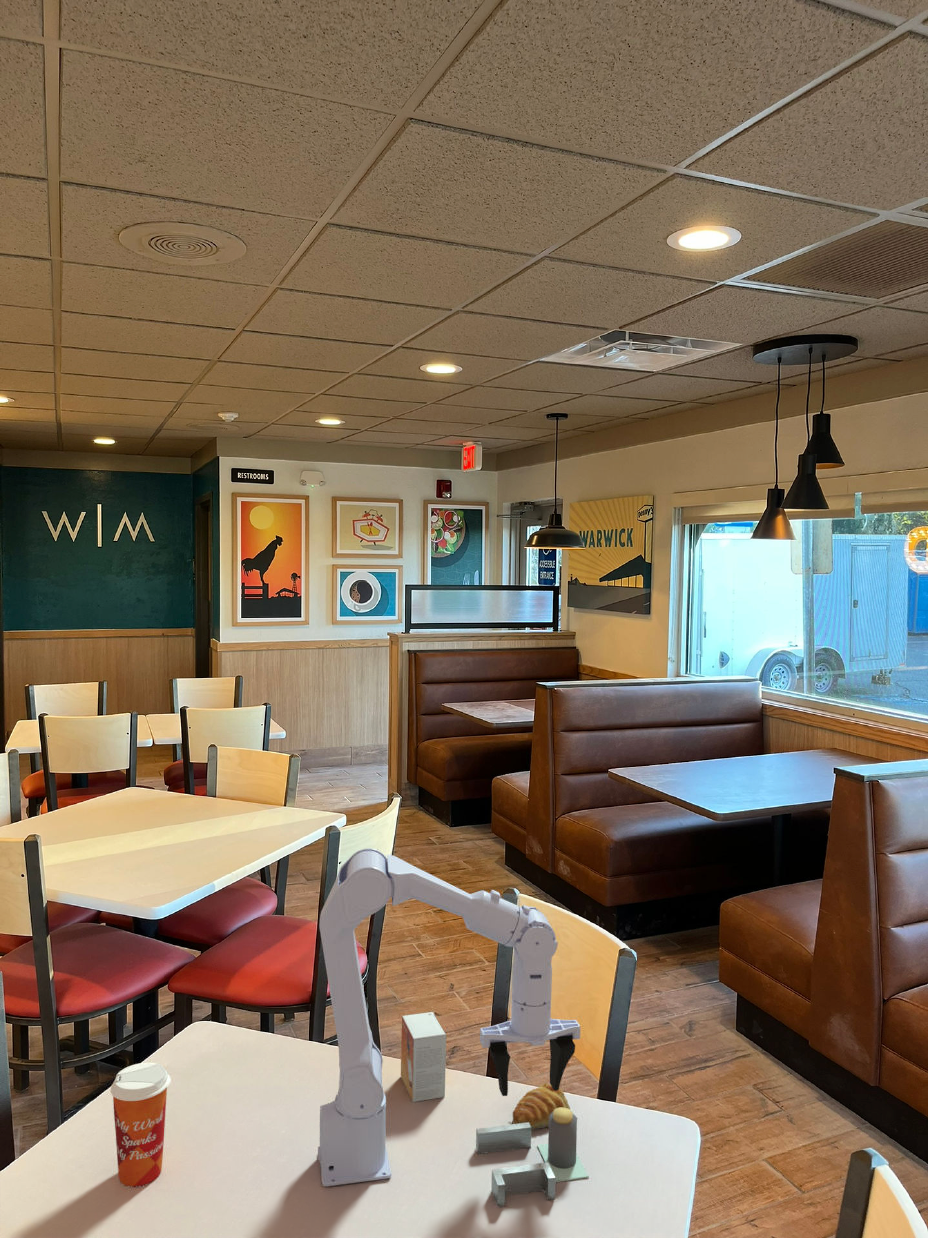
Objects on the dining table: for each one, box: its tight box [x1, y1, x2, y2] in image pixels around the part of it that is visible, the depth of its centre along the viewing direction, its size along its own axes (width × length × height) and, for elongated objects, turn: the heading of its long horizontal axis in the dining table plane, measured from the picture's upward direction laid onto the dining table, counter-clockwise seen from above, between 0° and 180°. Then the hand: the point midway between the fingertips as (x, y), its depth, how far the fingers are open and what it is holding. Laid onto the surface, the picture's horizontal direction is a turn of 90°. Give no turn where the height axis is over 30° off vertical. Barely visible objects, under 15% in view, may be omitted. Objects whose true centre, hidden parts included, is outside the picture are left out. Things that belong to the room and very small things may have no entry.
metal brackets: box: [475, 1122, 556, 1208], centre depth 124 cm, size 8×12×3 cm, turn 12°
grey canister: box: [547, 1107, 578, 1169], centre depth 127 cm, size 4×4×7 cm
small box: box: [400, 1011, 447, 1103], centre depth 145 cm, size 8×6×10 cm
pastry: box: [512, 1082, 571, 1131], centre depth 137 cm, size 9×7×4 cm
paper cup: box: [110, 1062, 172, 1188], centre depth 123 cm, size 8×8×14 cm
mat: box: [537, 1143, 589, 1183], centre depth 127 cm, size 5×8×1 cm, turn 12°
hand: (528, 1089), depth 128 cm, fingers open, 7 cm apart
